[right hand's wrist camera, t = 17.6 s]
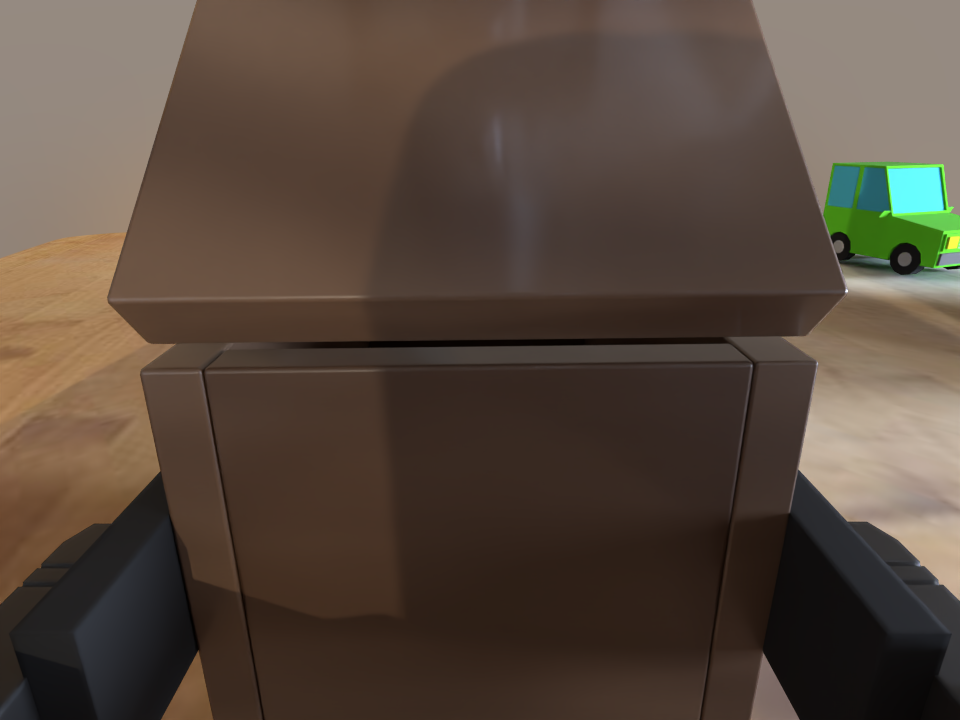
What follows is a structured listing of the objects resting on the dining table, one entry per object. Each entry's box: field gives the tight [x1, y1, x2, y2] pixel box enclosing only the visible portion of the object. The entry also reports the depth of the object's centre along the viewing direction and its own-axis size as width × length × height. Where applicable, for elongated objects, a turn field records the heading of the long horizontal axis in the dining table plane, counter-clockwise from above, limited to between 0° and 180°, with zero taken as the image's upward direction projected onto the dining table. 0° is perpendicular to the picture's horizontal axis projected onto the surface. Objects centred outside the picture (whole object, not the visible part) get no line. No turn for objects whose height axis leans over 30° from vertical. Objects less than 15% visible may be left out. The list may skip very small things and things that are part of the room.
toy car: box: [823, 162, 960, 275], centre depth 64 cm, size 10×13×10 cm
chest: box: [140, 336, 818, 720], centre depth 17 cm, size 14×10×10 cm
